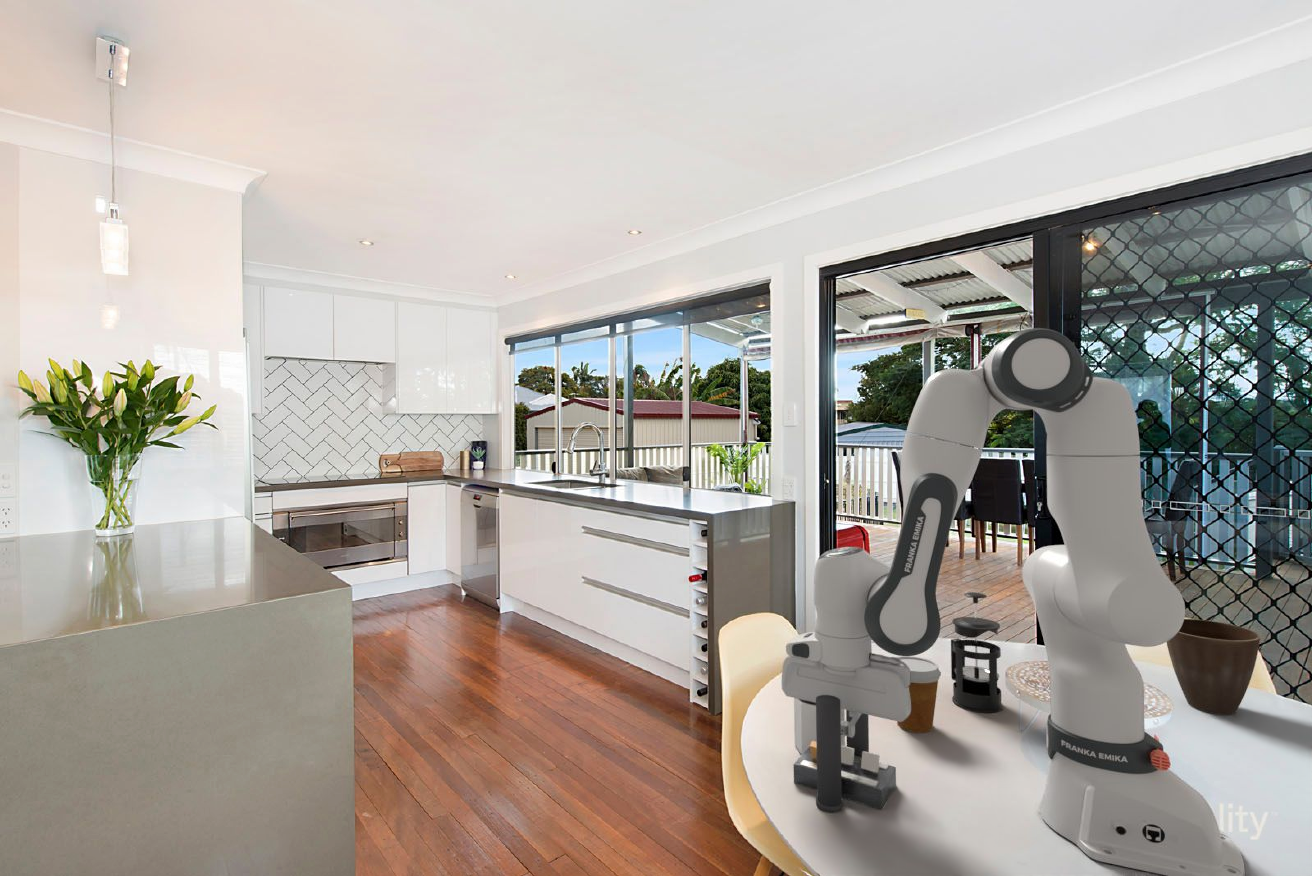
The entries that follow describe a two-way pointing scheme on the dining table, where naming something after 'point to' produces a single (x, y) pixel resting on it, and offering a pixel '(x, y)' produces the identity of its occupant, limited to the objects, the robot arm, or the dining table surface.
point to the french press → (975, 682)
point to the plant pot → (1213, 663)
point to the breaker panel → (852, 780)
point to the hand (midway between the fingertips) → (844, 734)
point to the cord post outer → (828, 754)
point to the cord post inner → (859, 735)
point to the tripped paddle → (813, 749)
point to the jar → (807, 724)
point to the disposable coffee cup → (921, 694)
